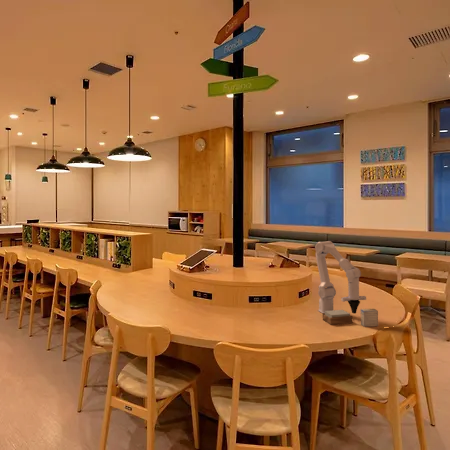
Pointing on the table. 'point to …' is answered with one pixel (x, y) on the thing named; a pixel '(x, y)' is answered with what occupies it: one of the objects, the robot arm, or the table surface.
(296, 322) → the table surface
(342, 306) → the table surface
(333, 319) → the walnut box
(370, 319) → the medicine box
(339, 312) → the cover plate
